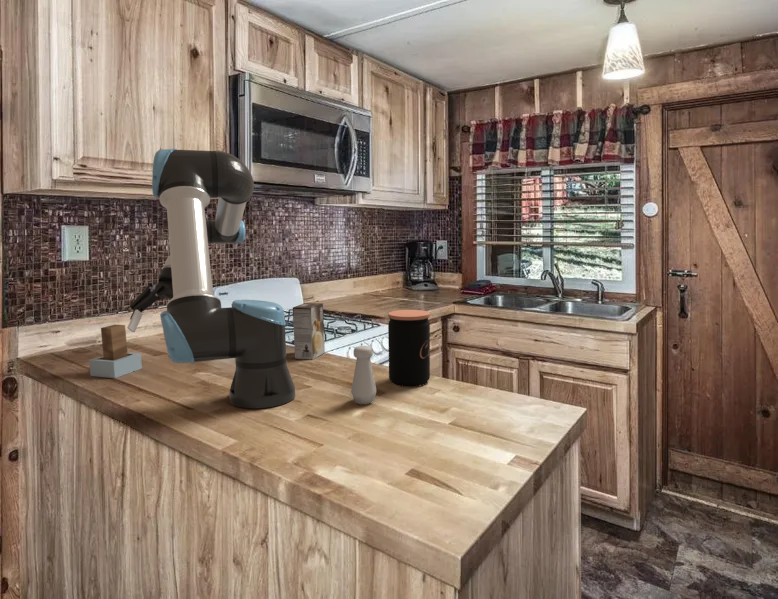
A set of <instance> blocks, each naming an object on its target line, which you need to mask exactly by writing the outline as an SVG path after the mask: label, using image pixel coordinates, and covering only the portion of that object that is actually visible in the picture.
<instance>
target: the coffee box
mask: <svg viewBox="0 0 778 599" xmlns="http://www.w3.org/2000/svg"><path fill="white" fill-rule="evenodd" d="M292 323H293V324H292V325H293V338H294V339H293V343H294V344H293V346H294V359H297V360H311V359H313V360H315V359H317V358H318V357H319V356H321V355H323V354H325V353H326V351H325V350H326V348H325V324H324V323H325V322H324V303H322V302H321V303H320V302H319V303H317V302H313V303H312V302H304V303H301V304H298V305H295V306H294V307H292Z"/></svg>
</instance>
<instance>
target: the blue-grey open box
mask: <svg viewBox="0 0 778 599" xmlns="http://www.w3.org/2000/svg"><path fill="white" fill-rule="evenodd" d="M127 354H128V356H127V357H123V358H120V359H117V360H114V361H112V360H104V357H103V355H101V356H98V357H95V358H90V359H89V360H88V362H89V364H88V365H89V373H90V374H89V375H90V376H91V377H97V378H98V377H100V378H110V379H117V378H119V377H122V376H125V375H128V374H130V373H133V371H134V372H136V371H139V370H142V369H143V364H142V353H141V352H131V351H130V352H128V351H127Z"/></svg>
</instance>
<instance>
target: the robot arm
mask: <svg viewBox="0 0 778 599" xmlns="http://www.w3.org/2000/svg"><path fill="white" fill-rule="evenodd" d="M254 181H255V180H254V178H253V175H252V173H251V171H250V169H249V168H248V167H247V165H246V164H245V163H244V162H243V161H242V160H240V159H239V158H238V157H236V156H235V155H234V154H231V153H229V152H225V151H223V150H201V149H198V150H197V149H194V150H193V149H177V148H170V149H169V148H167V149H164V148H161V149H158V150H157V151H156V152H155V153H154V156H153V163H152V180H151V184H152V185H151V187H152V195H153V197H155V198H158V199H159V203H160V205H161V206H162V207H164V208H165V209H166V212H167V213H166V215H167V225H168V226H167V228H168V241H169V254H168V256H167V258H166V260H165V262H164V264H163V267H162V269H161V271H160V274H159V276H158V283H156V285H155V284H153V283H151V282H150V283H148V285H147V286H146V288H145V289H144V291H142V292H141V293H140V294H139V295H138V296H137V298H136V299H135V300H134V301H132V303H131V304H130V305H129V308H130V309H131V310H132V313H131V316H130V318H129V320H130V321H129V323H128V325H127V327H126V329H128V330H129V331H131V332H132V333H135V332H136V330H137V328H138V326H139V324H140V321H141V319H142V317H143V315H144V314H143V312H144V311H145V310H146V309H147V308H149V307H151V305H153V304H154V303H155V302H158V301H160V300H161V299H162V300H164V299H166V300H169V301H168V302H167V304H166V310H165V311H161V313H160V321H161V323H160V324H161V326H162V330H163V331H162V332H163V338H164V340H165V345H166V351H167V354H168V358H169V360H170V361H171V362H172V363H174V364H189V363H190V364H195V363H199V362H207V361H208V362H210V361H219V360H227V359H228V360H229V359H234V361H235V370H234V373H233V376H232V382H231V385H230V387H229V396H228V397H229V403H230V404H231V405H232V406H235V407H237V408H242V409H243V408H244V409H265V408H273V407H278V406H282V405H284V404H287V403H289V402H291V401H293V400H294V399H295V397H296V385H295V383H294V380H293V377H292V374H291V372H290V370H289V367H288V365H287V364H288V363H287V349H286V348H287V344H286V343H287V341H286V339H287V338H286V325H287V323H286V318H285V317H286V316H285V311H284V310H285V309H284V308H283V306H281V304H278V303H276V302H273V301H267V300H259V299H234V300H232V303H231V307H222V302H221V299H220V298H219V297H218V296H216V295H215V294H214V292H213V291H214V290H213V280H212V272H211V260H210V251H209V250H210V249H209V248H210V247H209V244H237V243H243V242H245V239H246V225H245V221H244V220H243V215H244V213H245V208H246V205H247V202H249V200H251V198H252V196H253V193H254V190H255V188H254V187H255V183H254ZM211 198H212V199H215V198H218V200H217V207H216V214H215V219H206V211H205V209H206V208H207V207H208V206H209V205H210V203H211Z"/></svg>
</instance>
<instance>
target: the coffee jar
mask: <svg viewBox="0 0 778 599" xmlns="http://www.w3.org/2000/svg"><path fill="white" fill-rule="evenodd" d="M387 315H388V318H389V321H388V325H387V326H388V327H387V330H388V335H387V336H388V338H387V339H388V340H387V341H388V378H389V380H390V382H391V383H392V385H395V386H399V387H406V388H413V387H414V386H415V387H420V386H419V385H421V386H424V385H426V384H427V383H428V381H429V380H430V377H431V334H430V333H431V332H430V331H431V323H430V320H429V318H430V317H431V316H430V315H431V314H430V312H429V311H426V310H420V309H399V310H398V309H397V310H393V311H389V312H388V314H387ZM423 384H424V385H423Z"/></svg>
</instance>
